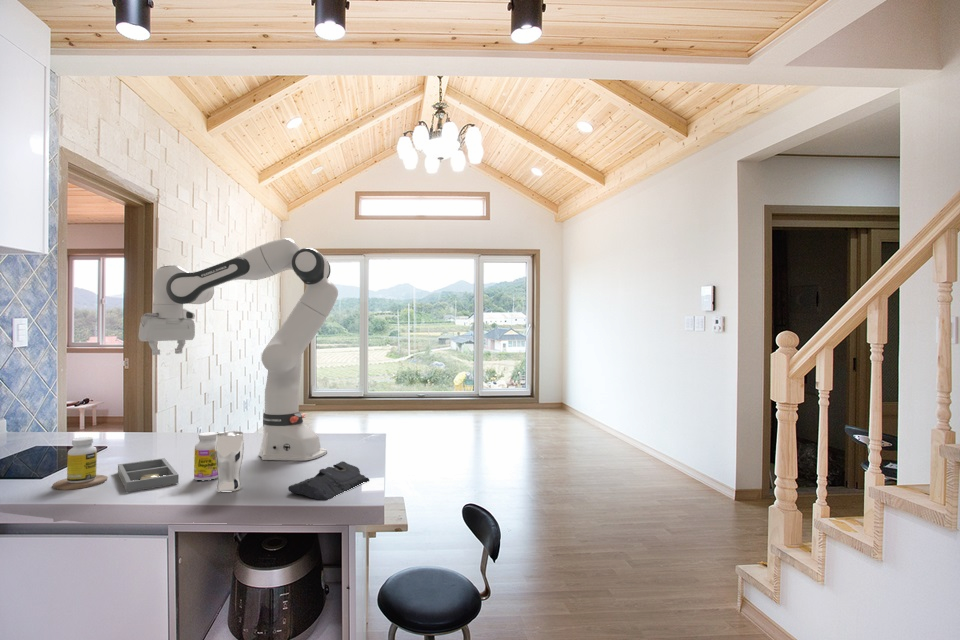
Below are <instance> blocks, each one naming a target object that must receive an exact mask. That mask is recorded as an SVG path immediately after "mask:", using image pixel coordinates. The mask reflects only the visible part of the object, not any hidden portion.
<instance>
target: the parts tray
mask: <svg viewBox="0 0 960 640" xmlns="http://www.w3.org/2000/svg"><path fill="white" fill-rule="evenodd" d="M117 474H118V476H119V479H120V480H121V481H120V482H121V483H122V485H123V487H124V489H125V492H126V493H130V492H136V491H141V490H147V489H153V488H154V489H155V488H159V487H165V486H166V485H167V486H172V485H171V484H173V485H177V484H176V483H178V484H179V479H180V478H179V473H178V472H177V471H176V469H174V467H173V466H172V465H171V464H170V463H169V461H167V459H166V457H164V458H156V459H149V460H139V461H133V462H126V463H118V464H117ZM148 474H159V476H160V477H154V478H147V479H141V476H144V475H148ZM163 475H167V476H163ZM138 479H140V480H138ZM132 480H134V481H132ZM167 486H166V487H167Z"/></svg>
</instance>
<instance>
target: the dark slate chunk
mask: <svg viewBox="0 0 960 640" xmlns="http://www.w3.org/2000/svg"><path fill="white" fill-rule="evenodd" d="M367 481H368V482H370V478H368V477H366V476H365V475H363V474H362V473H361V471H360V468H359V467H358V466H355V465H353V464H349V463H347V462H345V461H344V460H342V461H340V462H338V463H336V464H333V467H332V466H328V467H326V468H321V469H319V470H318V473H317V474H315V476H313V477H310V478H307V479H305V480H302V481H300V482H298V483H294V484H292V485H291V484H290V485H289V486H288V488H287V489H288V491H289V492H290V493H293V494H295V495H297V494H298V495H301V496H306V497H307V498H310V499H314V500H316V501H317V500H318V501H328V499H329V500H330V499H334V498H335V497H337V496H336V495H338V494H340V493H342V492H344V491H347V490H349V489H351V488H353V487H355V486H357V485H359V484H361V483H363V482H366V483H368V482H367ZM363 484H364V483H363ZM361 485H362V484H361ZM359 486H360V485H359ZM357 487H358V486H357ZM355 488H356V487H355ZM353 489H354V488H353ZM351 490H352V489H351ZM349 491H350V490H349ZM347 492H348V491H347ZM342 494H343V493H342ZM340 495H341V494H340ZM334 496H335V497H334ZM338 496H339V495H338ZM333 497H334V498H333Z"/></svg>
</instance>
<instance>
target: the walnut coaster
mask: <svg viewBox="0 0 960 640" xmlns="http://www.w3.org/2000/svg"><path fill="white" fill-rule="evenodd" d="M107 480H108V476H107V475H103V474H96V478H95V479H94V480H92V481H88V482H84V483H69V482H68V481H67V478H64V479H61V480H58V481H55V482H54V483H52V489H54V490H58V491H61V490H62V491H69V490H70V489H72V490H81V489H85V488H92V487H94V486H95V487H96V486H98V485H101V483H102V484H103V483H105V481H106V482H107Z"/></svg>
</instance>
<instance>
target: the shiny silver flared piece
mask: <svg viewBox="0 0 960 640" xmlns="http://www.w3.org/2000/svg"><path fill="white" fill-rule="evenodd" d="M244 444H245V443H244V432H243V431H238V430H232V431H231V430H229V431H221V432H218V433H217V434H216V443H215V458H216V465H217V470H218V478H217V484H216V490H217V491H234V492H237V491H240V490H242V484H241V475H240V474H241V468H242V463H243V459H244V452H245V451H244V449H245V448H244ZM216 490H215V491H216ZM236 490H237V491H236ZM217 491H216V492H217Z"/></svg>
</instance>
